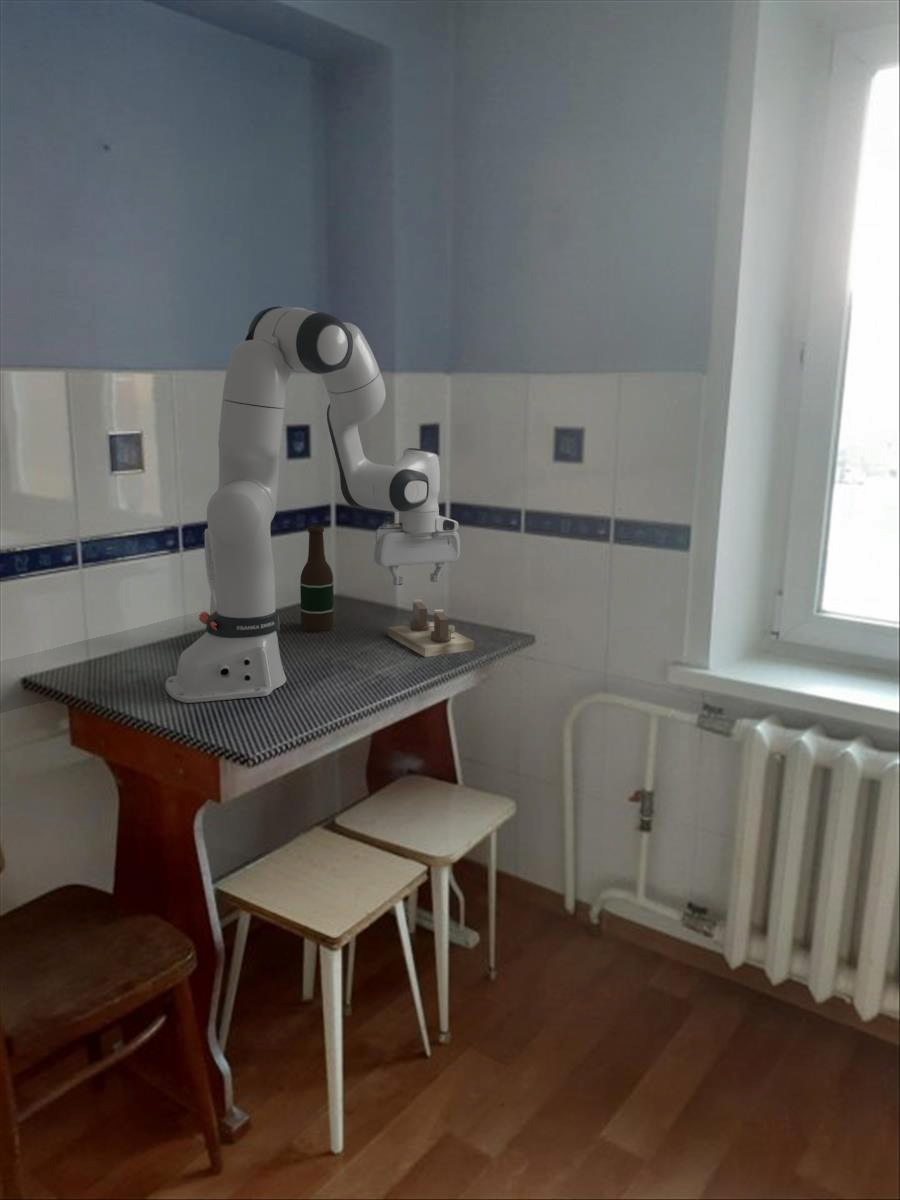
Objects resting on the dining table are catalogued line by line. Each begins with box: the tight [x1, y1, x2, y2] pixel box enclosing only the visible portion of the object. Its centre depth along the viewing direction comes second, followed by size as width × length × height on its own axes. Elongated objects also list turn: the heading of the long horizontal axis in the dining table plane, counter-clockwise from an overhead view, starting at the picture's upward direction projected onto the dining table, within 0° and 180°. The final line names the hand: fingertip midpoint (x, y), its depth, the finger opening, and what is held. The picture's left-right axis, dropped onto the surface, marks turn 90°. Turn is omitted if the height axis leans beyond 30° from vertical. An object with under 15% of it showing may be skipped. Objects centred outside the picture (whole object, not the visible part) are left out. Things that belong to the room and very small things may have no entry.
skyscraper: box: [204, 528, 216, 616], centre depth 199 cm, size 8×8×28 cm
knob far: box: [409, 599, 430, 631], centre depth 210 cm, size 7×4×6 cm, turn 14°
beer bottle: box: [299, 525, 335, 633], centre depth 214 cm, size 8×8×24 cm
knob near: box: [431, 609, 451, 642], centre depth 202 cm, size 7×4×6 cm, turn 12°
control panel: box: [387, 620, 475, 658], centre depth 207 cm, size 12×18×4 cm
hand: (416, 583), depth 209 cm, fingers open, 8 cm apart
